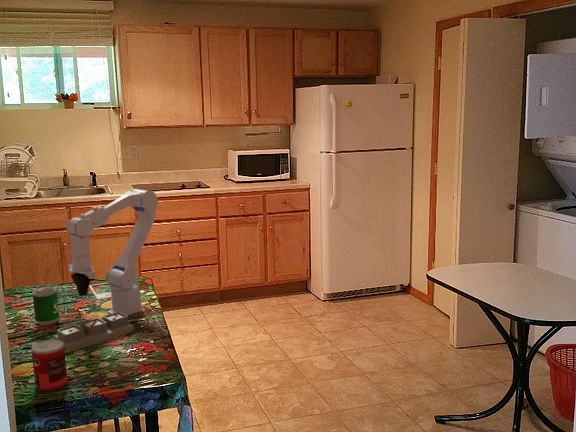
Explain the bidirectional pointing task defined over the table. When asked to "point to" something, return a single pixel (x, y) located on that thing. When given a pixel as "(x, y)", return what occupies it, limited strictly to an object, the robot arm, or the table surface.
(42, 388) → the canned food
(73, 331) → the one pip button
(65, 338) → the button panel
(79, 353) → the table surface
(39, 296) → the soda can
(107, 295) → the photo frame
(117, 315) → the two pip button
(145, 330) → the table surface
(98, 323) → the three pip button
